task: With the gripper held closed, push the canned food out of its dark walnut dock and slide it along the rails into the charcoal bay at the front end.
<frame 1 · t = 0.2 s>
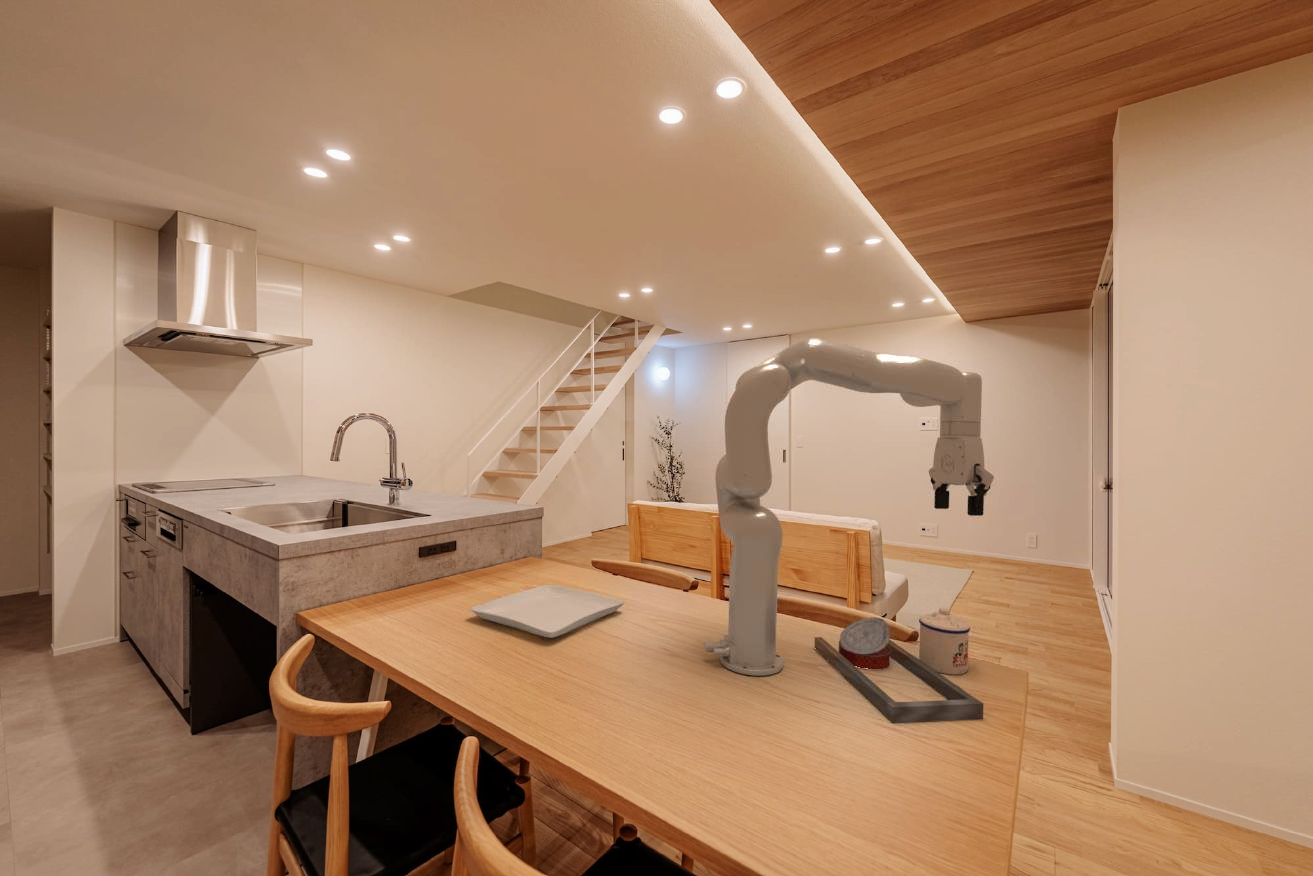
hand: (957, 511, 112), 31 cm above the table, tool pointing down, fingers open, 9 cm apart
canned food: (863, 661, 109), on the table
square plate: (549, 619, 129), on the table
can dock: (863, 659, 109), on the table
teacup with lid: (944, 664, 108), on the table
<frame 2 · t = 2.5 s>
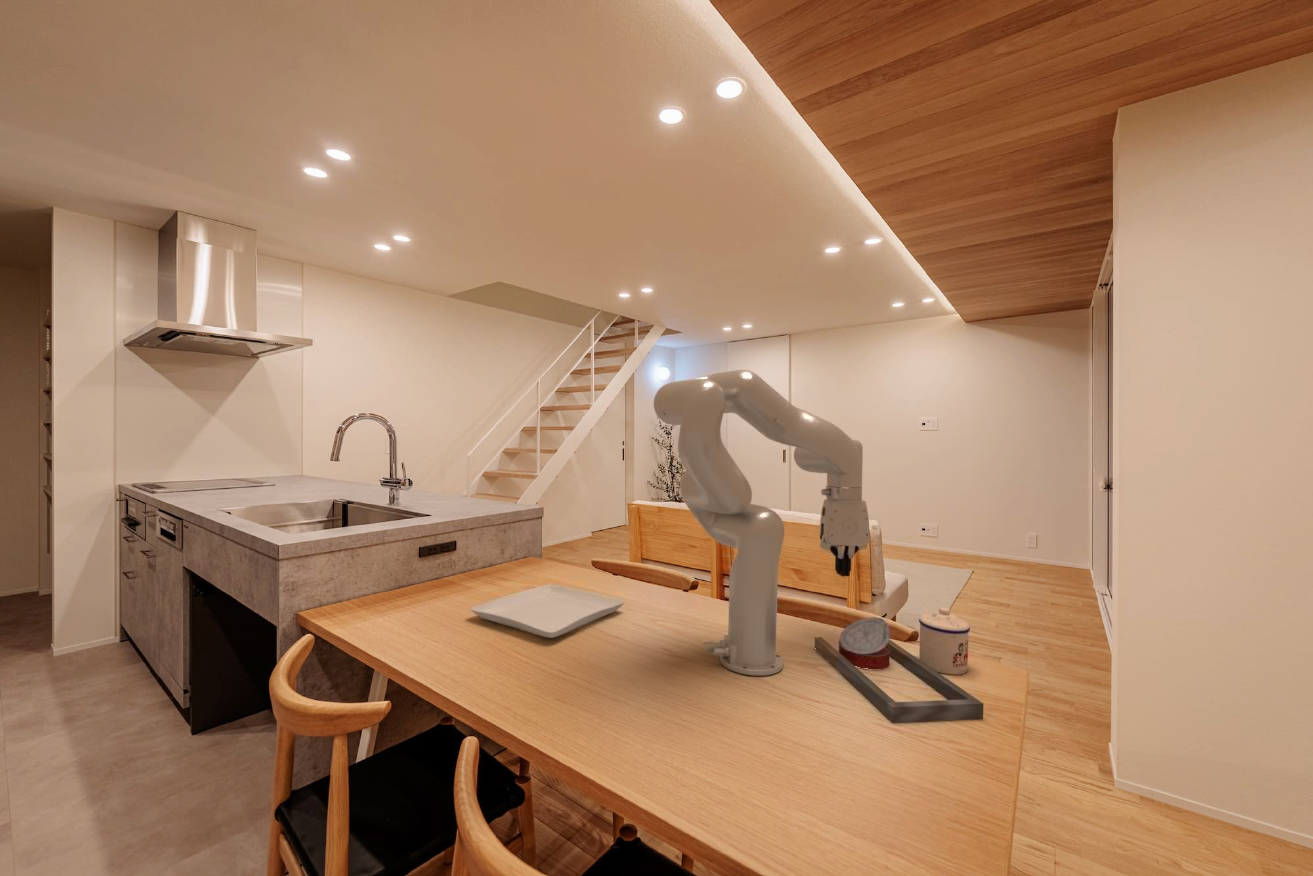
hand: (842, 574, 120), 15 cm above the table, tool pointing down, fingers closed
nothing on the table moved.
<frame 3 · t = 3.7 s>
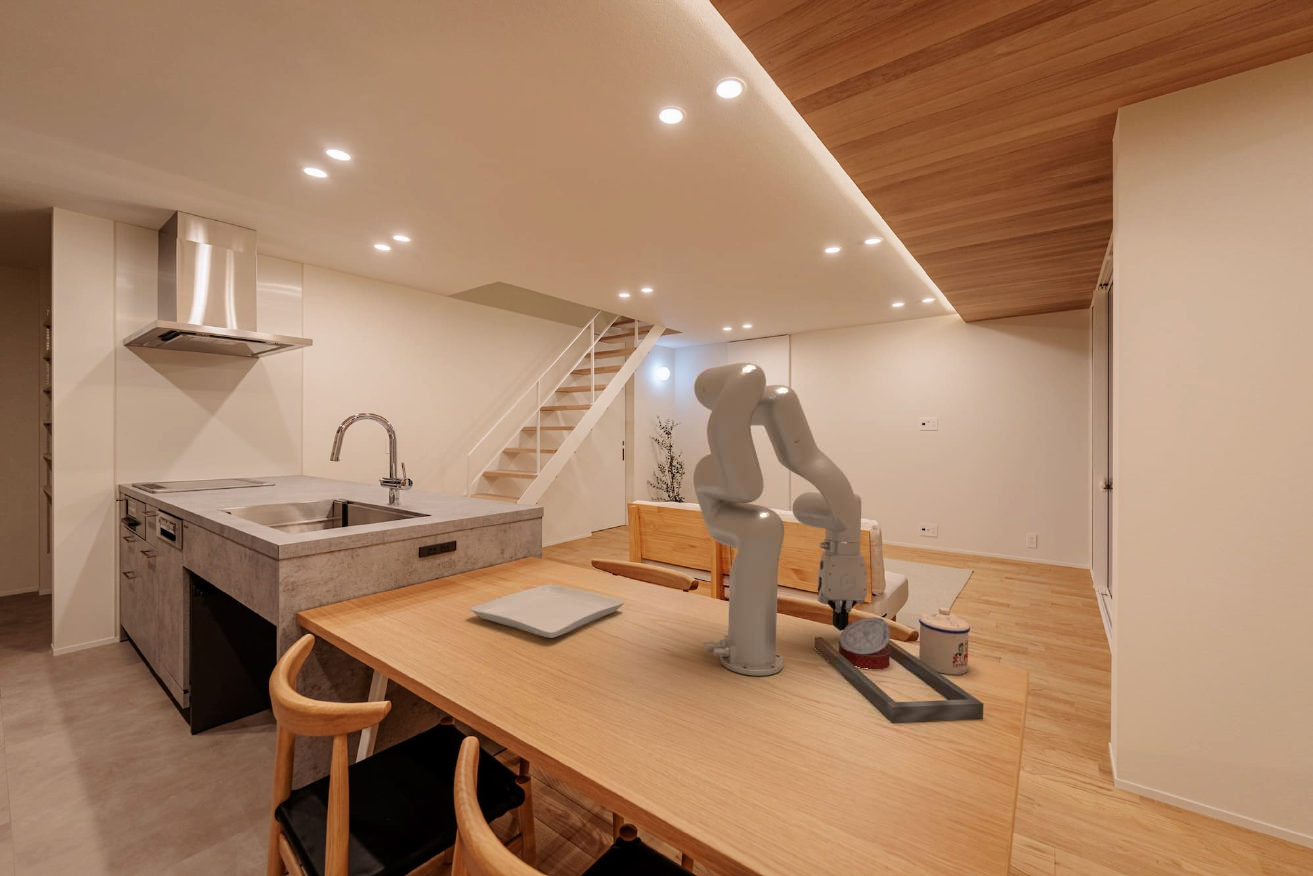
hand: (840, 628, 119), 3 cm above the table, tool pointing down, fingers closed
nothing on the table moved.
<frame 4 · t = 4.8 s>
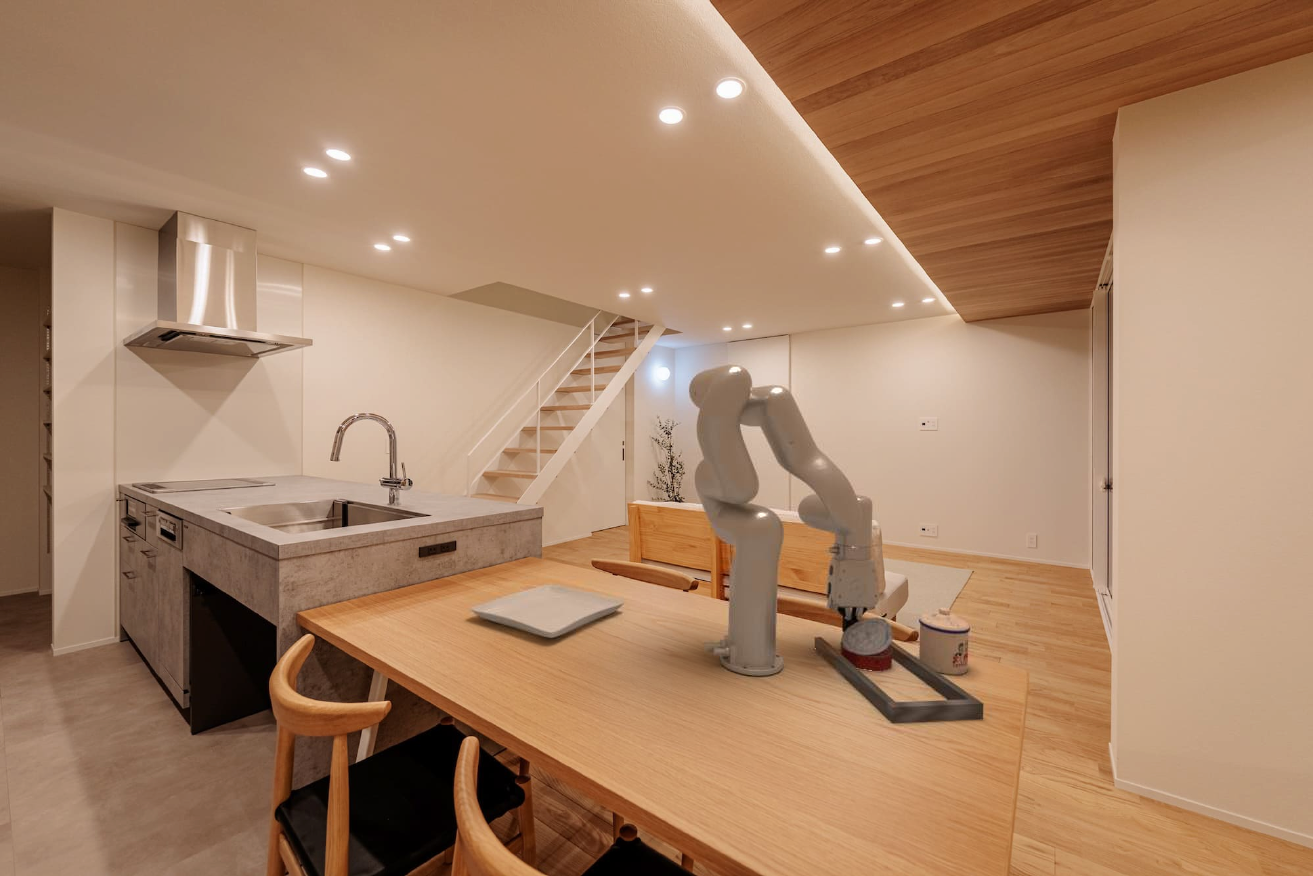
hand: (850, 636, 115), 3 cm above the table, tool pointing down, fingers closed
canned food: (865, 662, 108), on the table, touching gripper
everything else where it was.
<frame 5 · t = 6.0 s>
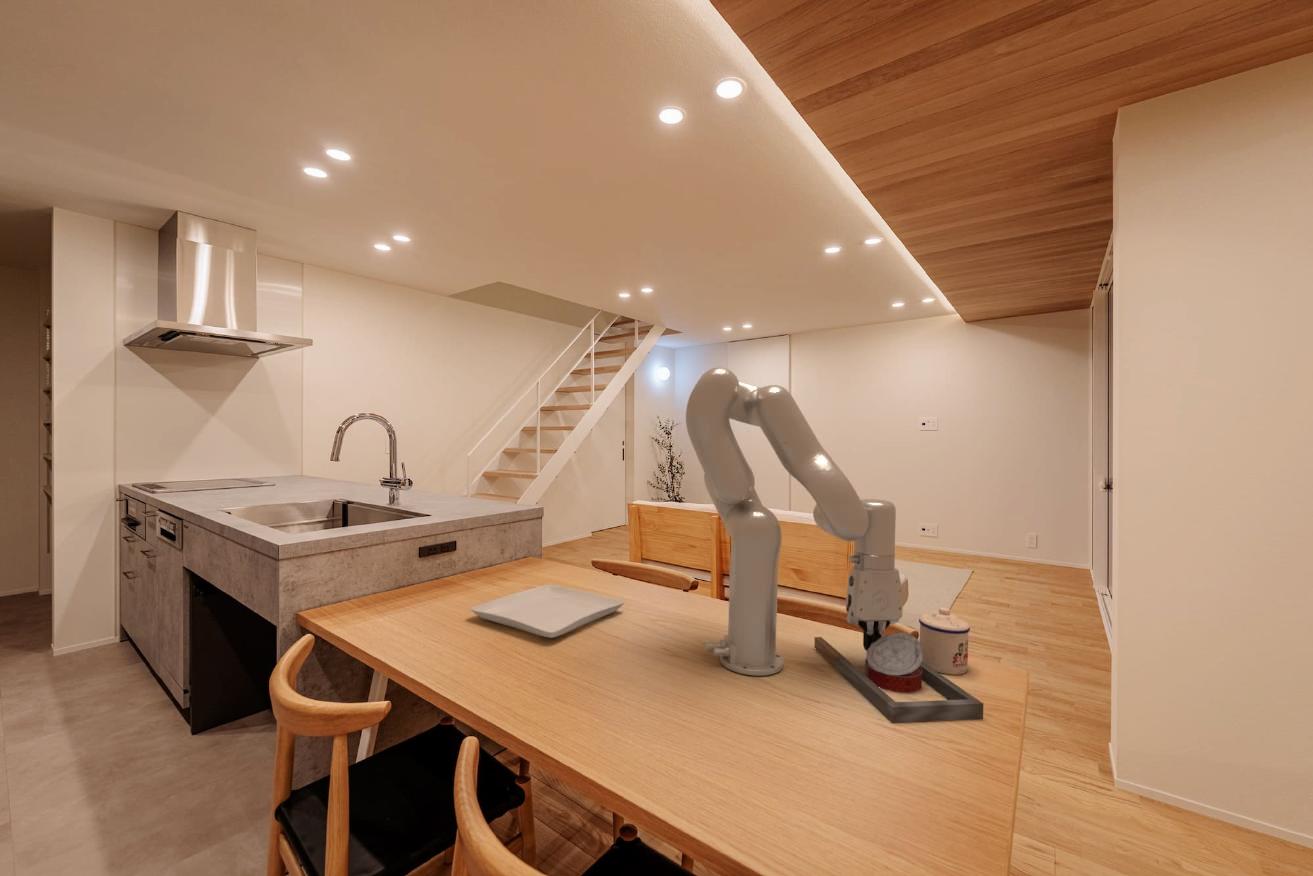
hand: (871, 652, 106), 3 cm above the table, tool pointing down, fingers closed
canned food: (892, 682, 100), on the table
everything else where it was.
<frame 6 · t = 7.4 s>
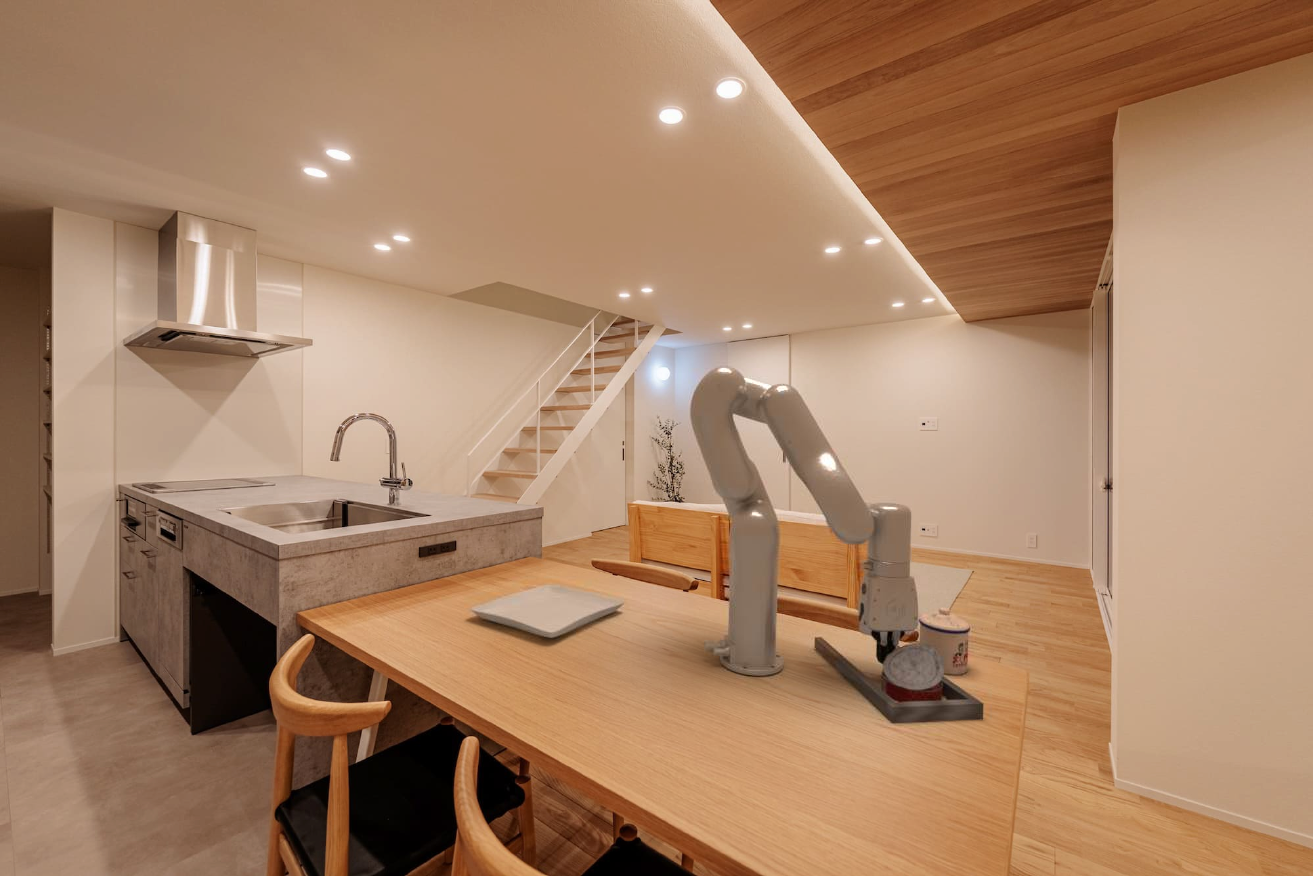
hand: (885, 663, 101), 3 cm above the table, tool pointing down, fingers closed
canned food: (911, 695, 95), on the table
everything else where it was.
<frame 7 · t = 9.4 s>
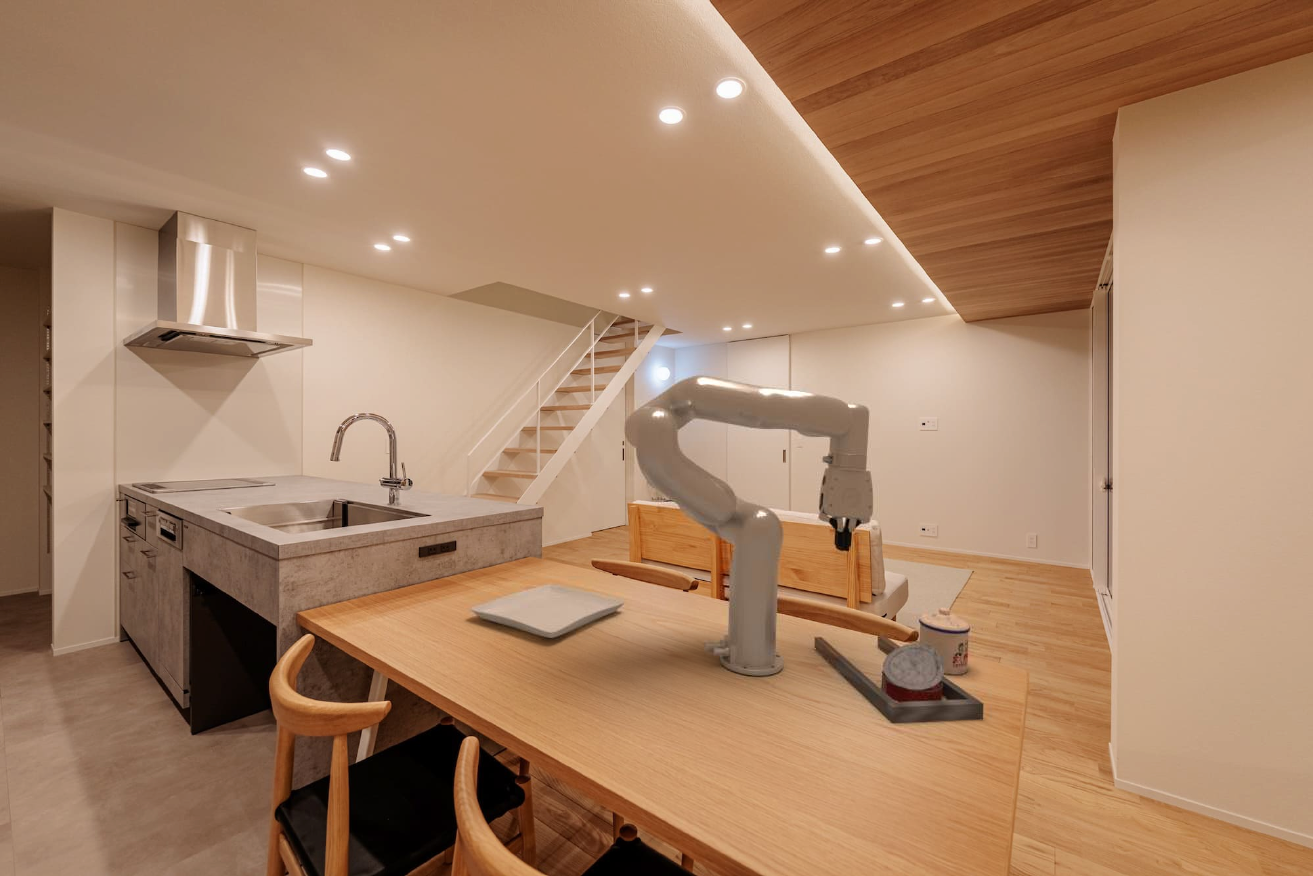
hand: (842, 549, 111), 22 cm above the table, tool pointing down, fingers closed
nothing on the table moved.
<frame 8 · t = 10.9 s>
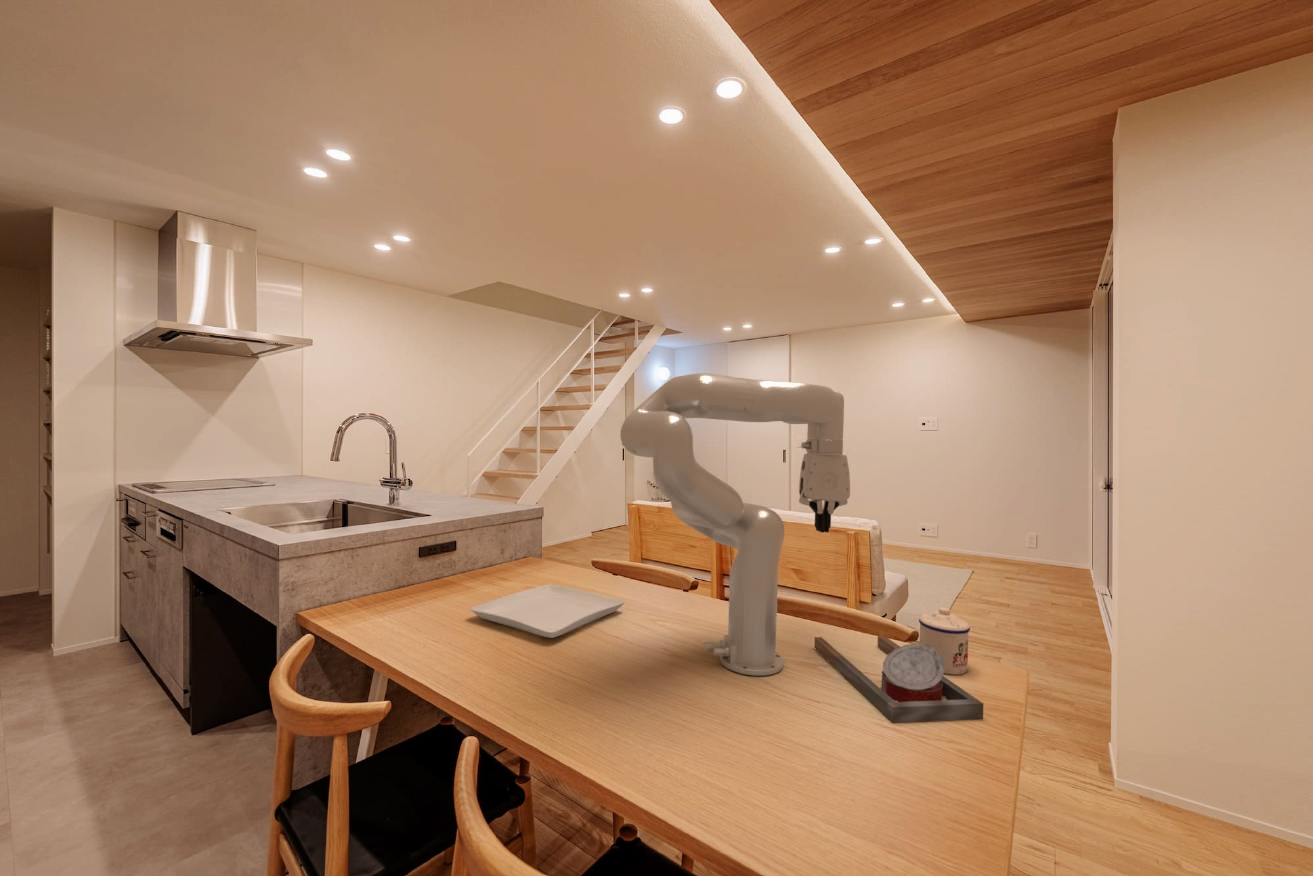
hand: (822, 531, 116), 25 cm above the table, tool pointing down, fingers closed
nothing on the table moved.
at the end: canned food inside the target area (1.3 cm from its centre), on the table; canned food tilted 0° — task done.
